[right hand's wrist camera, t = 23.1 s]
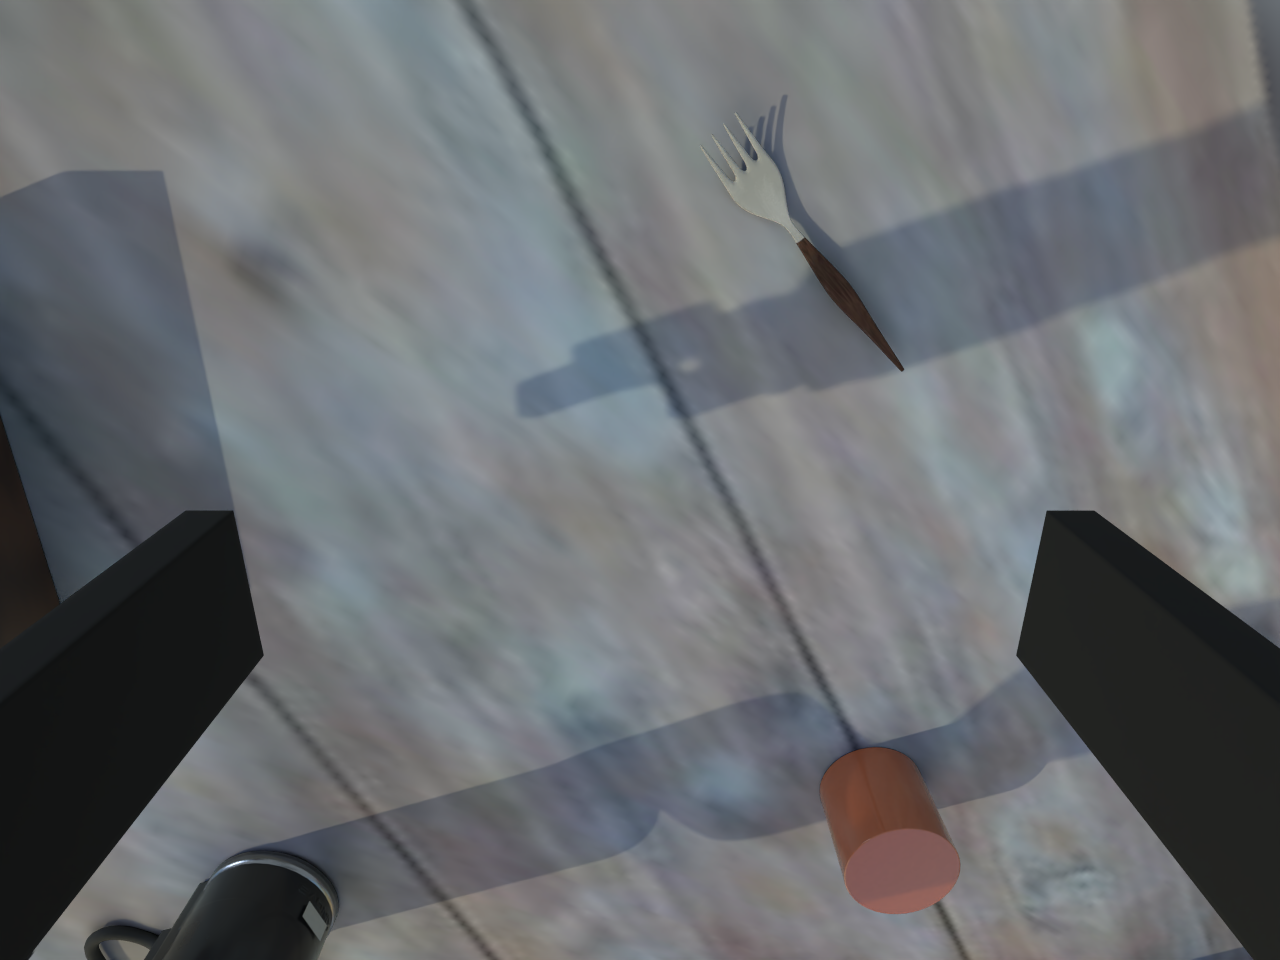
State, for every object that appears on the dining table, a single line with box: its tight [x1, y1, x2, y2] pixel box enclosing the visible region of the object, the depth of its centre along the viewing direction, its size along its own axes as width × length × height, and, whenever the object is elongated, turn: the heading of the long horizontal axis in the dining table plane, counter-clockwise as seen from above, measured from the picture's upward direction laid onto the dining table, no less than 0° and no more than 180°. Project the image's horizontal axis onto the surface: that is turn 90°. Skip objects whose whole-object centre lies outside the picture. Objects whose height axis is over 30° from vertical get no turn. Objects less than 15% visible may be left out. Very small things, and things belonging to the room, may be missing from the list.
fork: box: [700, 112, 904, 371], centre depth 39 cm, size 3×16×2 cm, turn 42°
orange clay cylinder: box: [820, 747, 960, 914], centre depth 50 cm, size 7×7×7 cm
